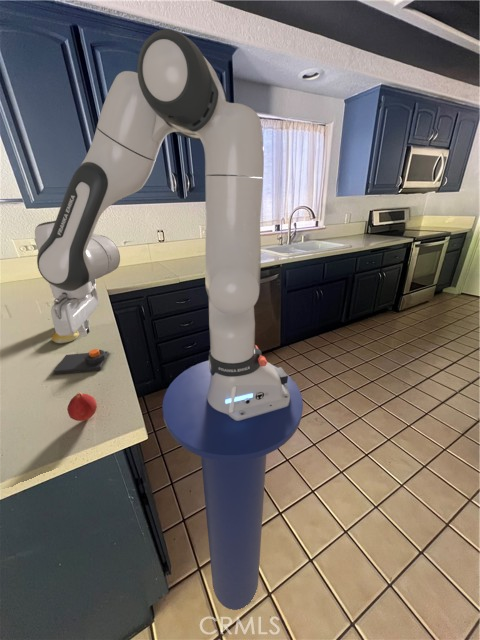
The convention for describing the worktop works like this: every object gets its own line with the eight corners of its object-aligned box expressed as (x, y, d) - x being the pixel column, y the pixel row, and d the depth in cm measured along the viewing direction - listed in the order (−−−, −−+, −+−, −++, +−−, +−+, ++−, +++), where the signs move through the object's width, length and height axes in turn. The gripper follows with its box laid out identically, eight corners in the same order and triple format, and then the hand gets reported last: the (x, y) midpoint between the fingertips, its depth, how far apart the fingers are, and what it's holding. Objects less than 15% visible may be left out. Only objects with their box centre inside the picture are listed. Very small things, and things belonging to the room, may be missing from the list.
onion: (69, 431, 60) (58, 404, 56) (76, 413, 65) (67, 387, 61) (97, 425, 61) (88, 399, 58) (102, 408, 66) (94, 382, 63)
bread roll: (48, 344, 95) (45, 334, 93) (63, 332, 103) (60, 323, 101) (72, 344, 95) (68, 334, 93) (84, 332, 103) (81, 323, 101)
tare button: (101, 352, 85) (99, 348, 84) (98, 357, 82) (97, 353, 82) (91, 353, 84) (90, 349, 84) (88, 358, 82) (87, 354, 81)
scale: (110, 354, 89) (108, 346, 88) (102, 369, 81) (100, 361, 80) (67, 357, 87) (64, 349, 86) (54, 374, 79) (51, 365, 78)
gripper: (67, 300, 59) (83, 353, 65) (97, 276, 77) (107, 318, 83) (36, 302, 58) (56, 355, 64) (74, 277, 77) (86, 320, 82)
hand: (85, 334), depth 74 cm, fingers closed
